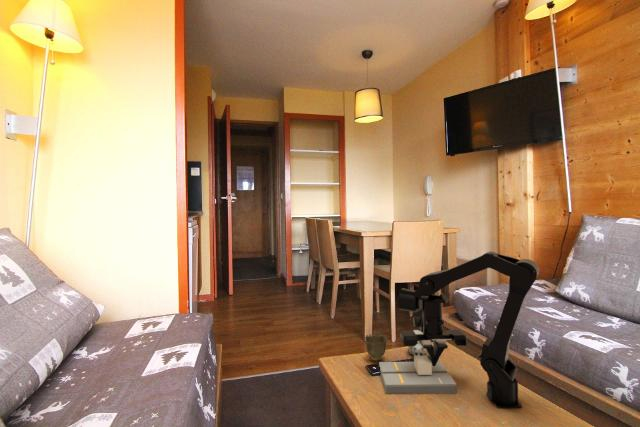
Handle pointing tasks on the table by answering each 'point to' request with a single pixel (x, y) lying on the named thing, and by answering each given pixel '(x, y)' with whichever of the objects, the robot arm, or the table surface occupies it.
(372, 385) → the table surface
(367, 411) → the table surface
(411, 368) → the console board
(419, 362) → the fader cap
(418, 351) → the chubby cartoon animal
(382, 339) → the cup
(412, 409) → the table surface
